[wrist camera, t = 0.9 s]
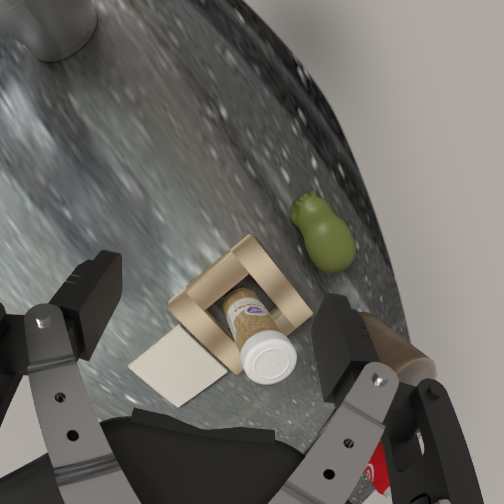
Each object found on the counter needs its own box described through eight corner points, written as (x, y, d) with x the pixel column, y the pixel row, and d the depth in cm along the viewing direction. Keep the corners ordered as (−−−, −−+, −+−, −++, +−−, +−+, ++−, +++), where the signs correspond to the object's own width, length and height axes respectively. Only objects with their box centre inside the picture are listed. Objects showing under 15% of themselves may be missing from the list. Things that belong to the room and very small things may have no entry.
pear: (332, 286, 33) (286, 204, 32) (316, 278, 38) (275, 208, 37) (371, 258, 33) (329, 179, 32) (351, 254, 39) (313, 185, 37)
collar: (168, 300, 35) (167, 309, 32) (248, 234, 35) (254, 237, 33) (233, 364, 39) (236, 375, 36) (305, 306, 39) (313, 313, 37)
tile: (129, 364, 35) (128, 367, 35) (179, 323, 36) (179, 325, 35) (177, 405, 38) (178, 407, 38) (227, 369, 38) (228, 371, 38)
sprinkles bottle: (255, 282, 37) (296, 333, 24) (261, 316, 38) (300, 377, 25) (217, 291, 36) (240, 348, 23) (225, 325, 37) (249, 392, 24)
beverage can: (348, 461, 50) (375, 501, 38) (363, 440, 49) (394, 480, 38) (370, 458, 52) (397, 494, 40) (385, 438, 51) (415, 474, 39)
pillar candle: (314, 330, 40) (373, 396, 26) (374, 299, 41) (445, 346, 27) (328, 379, 43) (379, 445, 29) (382, 350, 44) (442, 402, 30)
